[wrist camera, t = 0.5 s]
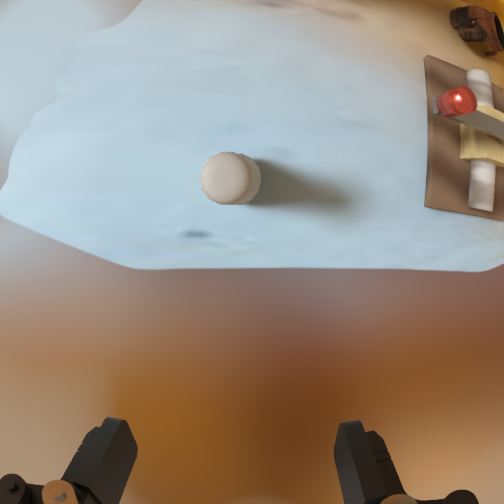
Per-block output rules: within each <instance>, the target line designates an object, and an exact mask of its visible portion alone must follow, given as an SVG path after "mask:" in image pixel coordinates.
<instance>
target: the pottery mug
mask: <svg viewBox="0 0 504 504" xmlns="http://www.w3.org/2000/svg"><path fill="white" fill-rule="evenodd" d="M450 20H451V25H452V28H456V27H459V35H460V37H461V38H462V39H463V40H464V41H468V42H470V41H475V42H483V41H485V40H487V36H488V37H489V38H490V39H489V40H488V42H489V44H490V45H491V47H492V49H493V51H492V52H487V53H486V56H494V55H495V54H497V53H498V52H499V51H501V52H503V50H504V33H503V29H502V26H501V23H500V20H499V18H498V16H497V15H496V13H495V12H488V11H487V10H485V9H483V8H481V7H479V6H466V7H459V8H457V9H454V10H452V11H451V14H450ZM473 20H476V23H474V24H472V22H471V21H473Z"/></svg>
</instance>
